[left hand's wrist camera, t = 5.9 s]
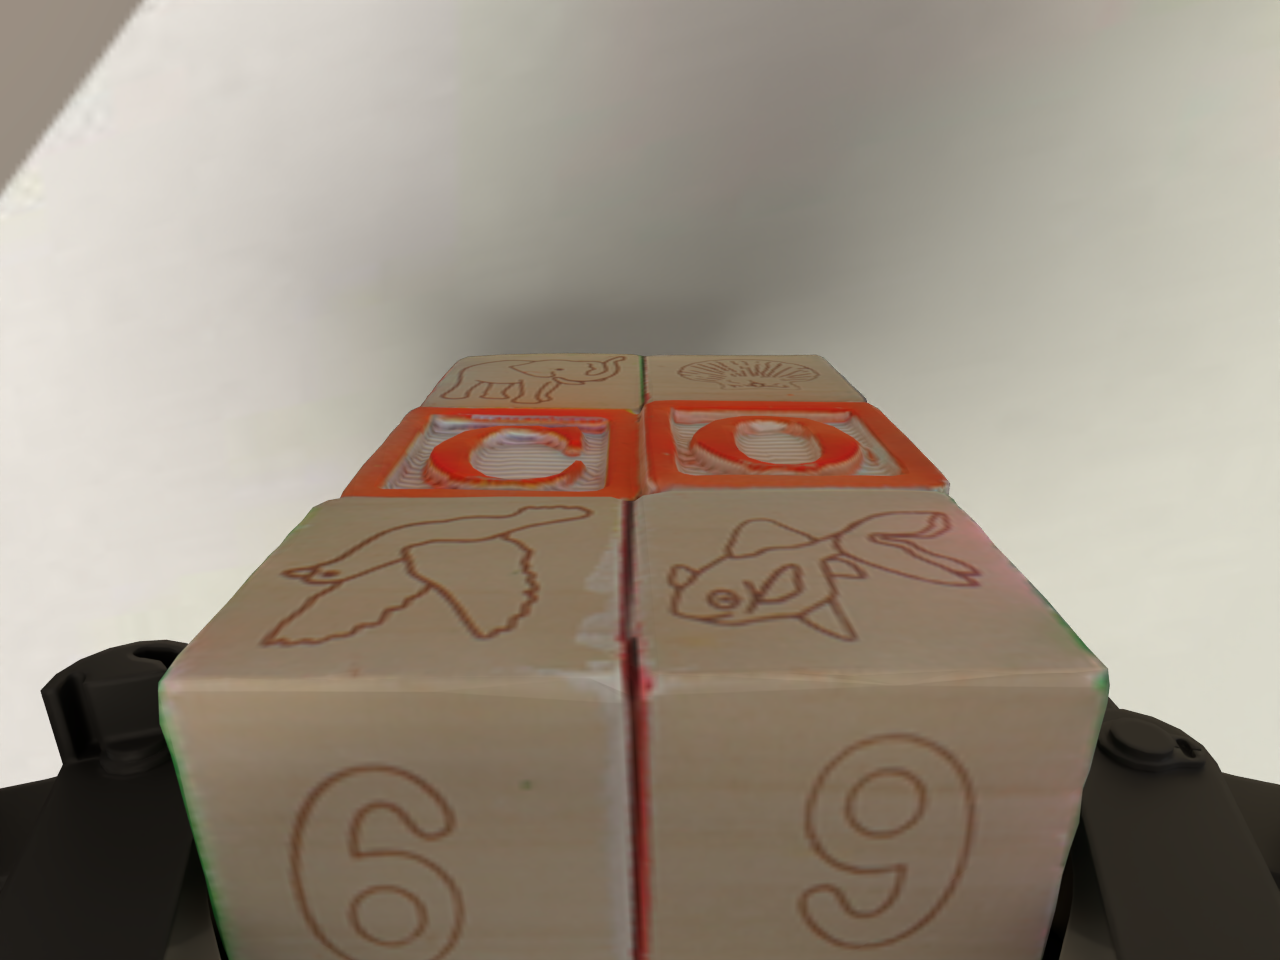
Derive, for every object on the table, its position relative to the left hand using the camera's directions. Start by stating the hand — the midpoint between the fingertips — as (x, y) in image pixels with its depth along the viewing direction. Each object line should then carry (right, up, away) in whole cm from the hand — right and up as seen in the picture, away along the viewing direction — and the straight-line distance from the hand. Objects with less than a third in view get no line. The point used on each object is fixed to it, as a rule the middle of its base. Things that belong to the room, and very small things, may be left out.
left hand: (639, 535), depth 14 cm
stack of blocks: (0, -7, +3) cm, 8 cm away
